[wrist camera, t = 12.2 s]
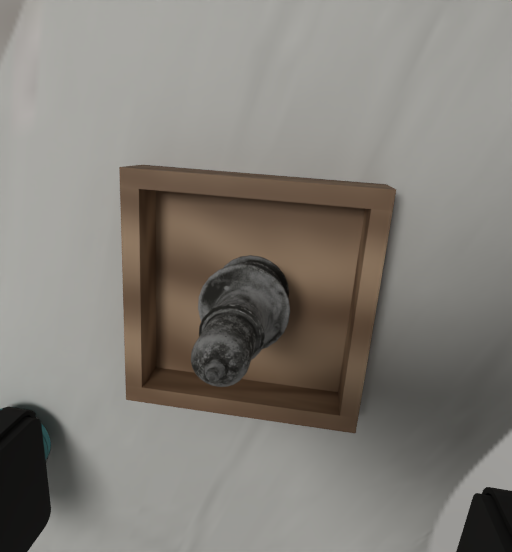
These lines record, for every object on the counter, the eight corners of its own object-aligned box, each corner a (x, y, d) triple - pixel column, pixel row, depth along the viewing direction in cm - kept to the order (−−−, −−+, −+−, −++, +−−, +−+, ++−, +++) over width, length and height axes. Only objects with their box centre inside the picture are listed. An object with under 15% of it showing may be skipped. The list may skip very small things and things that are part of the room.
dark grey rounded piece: (293, 331, 30) (278, 441, 19) (213, 328, 31) (152, 431, 20) (293, 251, 29) (276, 319, 17) (209, 250, 29) (139, 315, 18)
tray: (142, 164, 29) (119, 167, 26) (386, 184, 27) (396, 189, 24) (144, 374, 34) (126, 399, 30) (351, 403, 32) (355, 433, 29)
